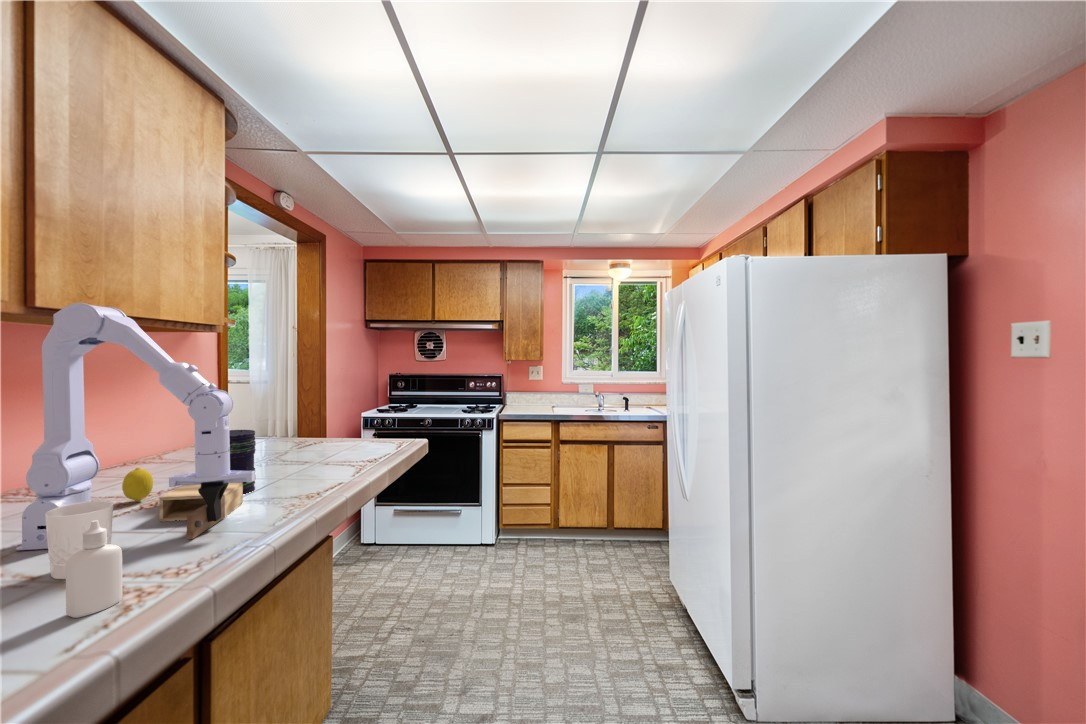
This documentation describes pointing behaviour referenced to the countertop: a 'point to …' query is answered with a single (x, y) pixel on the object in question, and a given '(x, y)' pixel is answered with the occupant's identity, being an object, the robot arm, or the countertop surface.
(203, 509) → the door
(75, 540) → the white cup
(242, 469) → the storage jar
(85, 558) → the eye dropper bottle
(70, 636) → the countertop surface
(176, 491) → the cabinet
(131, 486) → the lemon
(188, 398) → the robot arm
